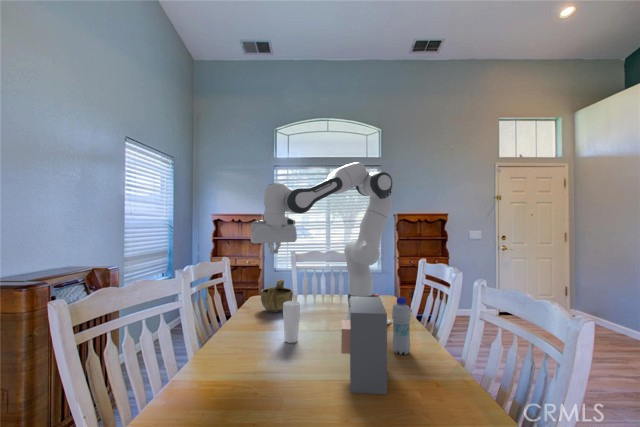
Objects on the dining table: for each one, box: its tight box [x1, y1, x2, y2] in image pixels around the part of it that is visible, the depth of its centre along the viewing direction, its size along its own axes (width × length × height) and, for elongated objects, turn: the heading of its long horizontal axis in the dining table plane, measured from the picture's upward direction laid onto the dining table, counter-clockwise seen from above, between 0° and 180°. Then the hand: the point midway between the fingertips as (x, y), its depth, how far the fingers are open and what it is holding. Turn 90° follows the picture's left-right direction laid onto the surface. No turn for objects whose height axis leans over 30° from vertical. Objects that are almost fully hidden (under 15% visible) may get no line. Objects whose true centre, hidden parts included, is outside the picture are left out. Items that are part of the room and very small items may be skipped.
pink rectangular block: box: [340, 319, 351, 355], centre depth 98 cm, size 5×9×7 cm, turn 175°
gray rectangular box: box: [349, 296, 388, 395], centre depth 97 cm, size 10×20×22 cm, turn 175°
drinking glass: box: [282, 300, 301, 344], centre depth 126 cm, size 7×7×15 cm
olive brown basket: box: [260, 278, 294, 313], centre depth 169 cm, size 22×17×15 cm
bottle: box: [391, 296, 411, 356], centre depth 115 cm, size 7×7×20 cm
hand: (274, 253), depth 133 cm, fingers closed
